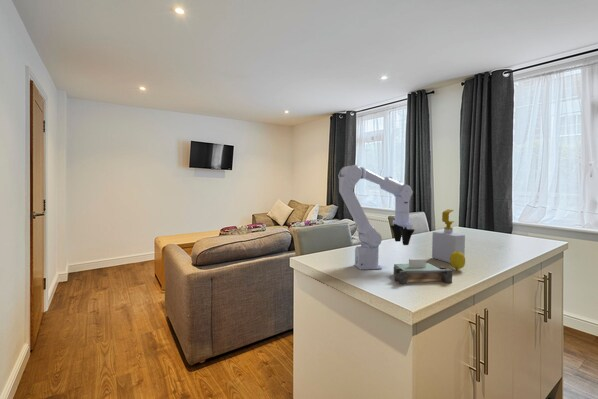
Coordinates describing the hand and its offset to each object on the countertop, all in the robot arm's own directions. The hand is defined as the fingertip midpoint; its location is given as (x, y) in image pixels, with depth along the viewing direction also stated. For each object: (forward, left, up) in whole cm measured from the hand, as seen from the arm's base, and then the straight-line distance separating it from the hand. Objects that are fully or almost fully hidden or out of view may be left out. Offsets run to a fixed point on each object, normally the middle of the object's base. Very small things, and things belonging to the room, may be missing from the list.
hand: (401, 243), depth 122 cm
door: (-2, -17, -6) cm, 18 cm away
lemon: (+19, -10, -10) cm, 24 cm away
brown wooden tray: (-2, -18, -9) cm, 21 cm away
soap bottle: (+24, +4, -10) cm, 26 cm away
